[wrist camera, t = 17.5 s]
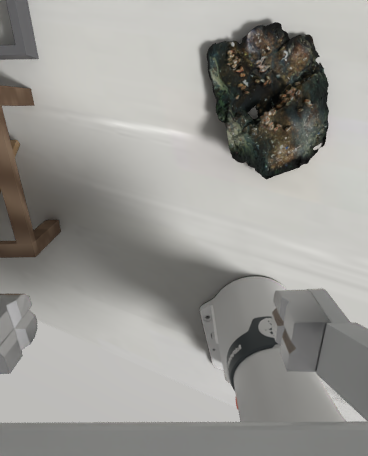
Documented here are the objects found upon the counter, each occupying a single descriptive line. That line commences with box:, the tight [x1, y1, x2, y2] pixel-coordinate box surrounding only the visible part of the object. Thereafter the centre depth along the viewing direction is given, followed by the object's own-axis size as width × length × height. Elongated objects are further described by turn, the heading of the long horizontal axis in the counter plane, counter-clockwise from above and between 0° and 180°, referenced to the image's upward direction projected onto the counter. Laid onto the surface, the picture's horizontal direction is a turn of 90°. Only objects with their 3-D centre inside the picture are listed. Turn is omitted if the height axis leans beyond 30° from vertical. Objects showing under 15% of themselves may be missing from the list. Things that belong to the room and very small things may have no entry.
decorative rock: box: [207, 22, 329, 179], centre depth 36 cm, size 19×6×15 cm
